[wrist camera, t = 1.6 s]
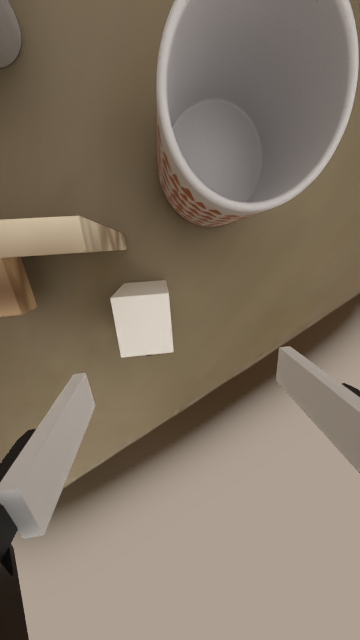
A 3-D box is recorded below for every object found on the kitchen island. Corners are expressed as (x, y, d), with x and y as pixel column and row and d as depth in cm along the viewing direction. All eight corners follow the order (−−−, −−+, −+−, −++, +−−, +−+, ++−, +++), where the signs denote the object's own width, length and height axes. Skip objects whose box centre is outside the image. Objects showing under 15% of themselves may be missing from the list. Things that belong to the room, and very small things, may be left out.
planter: (136, 180, 25) (114, 117, 13) (202, 61, 21) (256, -172, 10) (219, 248, 28) (264, 248, 16) (286, 154, 25) (400, 71, 13)
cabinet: (124, 283, 29) (110, 297, 20) (165, 279, 29) (168, 293, 21) (132, 334, 31) (123, 366, 23) (170, 331, 32) (174, 361, 24)
